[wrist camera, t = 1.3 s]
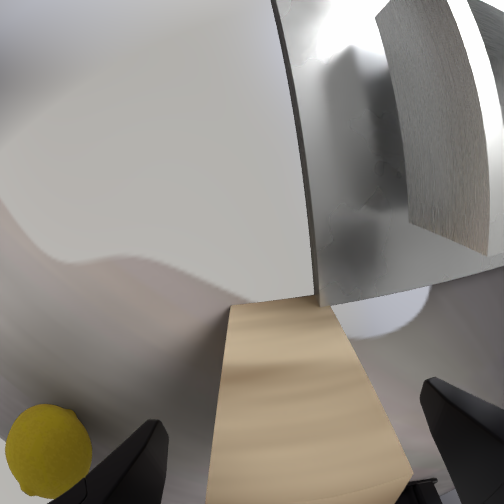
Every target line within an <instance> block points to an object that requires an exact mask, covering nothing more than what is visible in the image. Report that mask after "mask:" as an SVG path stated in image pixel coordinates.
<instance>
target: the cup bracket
mask: <svg viewBox="0 0 504 504" xmlns="http://www.w3.org/2000/svg"><path fill="white" fill-rule="evenodd" d="M271 4H272V8H273V12H274V17H275V21H276V25H277V30H278V34H279V39H280V44H281V49H282V53H283V59H284V63H285V68H286V74H287V79H288V84H289V90H290V96H291V101H292V107H293V113H294V120H295V126H296V132H297V139H298V145H299V153H300V160H301V167H302V174H303V183H304V191H305V198H306V208H307V217H308V226H309V236H310V247H311V258H312V269H313V282H314V295H315V297H316V299H317V301H318V304H319V306H320V307H325V306H331V305H337V304H343V303H348V302H354V301H359V300H364V299H369V298H374V297H379V296H384V295H388V294H393V293H398V292H403V291H407V290H412V289H416V288H420V287H425V286H429V285H433V284H438V283H442V282H446V281H450V280H454V279H457V278H461V277H465V276H469V275H473V274H476V273H480V272H483V271H487V270H490V269H494V268H497V267H501V266H504V0H271Z"/></svg>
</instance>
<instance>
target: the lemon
mask: <svg viewBox="0 0 504 504" xmlns="http://www.w3.org/2000/svg"><path fill="white" fill-rule="evenodd" d="M5 454H6V459H7V462H8V465H9V468H10V470H11V472H12V474H13V475H14V477H15V478H16V480H17V481H18V482H19V484H20V487H21V490H22V491H23V492H25V493H26V494H27V495H29V496H39V497H43V498H47V499H48V498H49V499H56V498H57V497H59V496H60V495H62V494H63V493H65V492H66V491H67V490H69V489H70V488H71V487H73V486H74V485H75V484H76V483H78V482H79V481H80V480H81V479H82V478H84V477H85V476H86V475H87V474H88V472H89V469H90V466H91V461H92V445H91V441H90V438H89V435H88V433H87V431H86V429H85V427H84V426H83V424H82V423H81V422H80V421H79V420H78V419H77V416H76V414H75V412H74V411H73V410H71V409H64V408H61V407H59V406H56V405H51V404H39V405H36V406H33V407H30V408H28V409H27V410H25V411H24V412H23V413H21V414H20V415H19V417H18V418H17V419H16V420H15V422H14V424H13V425H12V427H11V429H10V432H9V434H8V437H7V441H6V447H5Z"/></svg>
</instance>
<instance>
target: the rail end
mask: <svg viewBox="0 0 504 504" xmlns="http://www.w3.org/2000/svg"><path fill="white" fill-rule="evenodd" d="M412 475H413V471H412V469H411V466H410V464H409V462H408V460H407V458H406V455H405V453H404V451H403V449H402V447H401V444H400V442H399V440H398V438H397V436H396V434H395V432H394V429H393V427H392V425H391V423H390V421H389V419H388V417H387V415H386V413H385V411H384V409H383V407H382V405H381V403H380V401H379V398H378V396H377V394H376V392H375V390H374V388H373V386H372V384H371V382H370V380H369V379H368V377H367V375H366V373H365V371H364V369H363V367H362V365H361V363H360V361H359V359H358V357H357V355H356V353H355V351H354V349H353V348H352V346H351V344H350V342H349V340H348V338H347V336H346V334H345V332H344V331H343V329H342V327H341V325H340V323H339V321H338V320H337V318H336V316H335V314H334V312H333V310H332V309H331V307H330V306H325V307H320V306H319V304H318V301H317V299H316V297H315V295H310V296H303V297H296V298H288V299H282V300H273V301H266V302H257V303H249V304H240V305H231V308H230V315H229V322H228V329H227V336H226V343H225V351H224V358H223V365H222V373H221V380H220V388H219V395H218V403H217V411H216V419H215V426H214V434H213V442H212V450H211V459H210V467H209V475H208V484H207V492H206V501H205V504H395V502H396V501H397V499H398V498H399V496H400V495H401V493H402V491H403V490H404V488H405V487H406V485H407V483H408V482H409V480H410V479H411V477H412Z"/></svg>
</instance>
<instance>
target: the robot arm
mask: <svg viewBox="0 0 504 504" xmlns="http://www.w3.org/2000/svg"><path fill="white" fill-rule="evenodd" d="M420 403H421V406H422V409H423V411H424V414H425V417H426V420H427V423H428V426H429V429H430V432H431V434H432V437H433V439H434V441H435V443H436V445H437V448H438V450H439V452H440V454H441V456H442V458H443V461H444V463H445V465H446V467H447V470H448V472H449V474H450V477H451V479H452V481H453V484H454V486H455V489H456V491H457V493H458V496H459V498H460V501H461V503H462V504H504V410H503V409H501V408H499V407H497V406H495V405H493V404H491V403H488V402H486V401H484V400H482V399H480V398H478V397H476V396H474V395H472V394H469V393H467V392H465V391H463V390H461V389H459V388H457V387H455V386H453V385H451V384H449V383H447V382H445V381H443V380H441V379H439V378H436V377H432V378H429V379H427V380H425V381H424V383H423V387H422V390H421V394H420ZM168 442H169V437H168V434H167V432H166V430H165V428H164V426H163V424H162V422H161V421H160V420H156V419H149V420H147V421H146V422H145V423H144V424H143V425H142V426H140V427H139V428H138V429H137V430H136V431H135V432H134V433H133V434H132V435H131V436H130V437H129V438H128V439H126V440H125V441H124V442H123V443H122V444H121V445H120V446H119V447H118V448H117V449H115V450H114V451H113V452H112V453H111V454H110V455H109V456H108V457H107V458H105V459H104V460H103V461H102V462H101V463H100V464H99V465H97V466H96V467H95V468H94V469H93V470H92V471H91V472H89V473H88V474H87V475H86V476H85V477H84V478H82V479H81V480H80V481H79V482H78V483H76V484H75V485H74V486H73V487H71V488H70V489H69V490H67V491H66V492H65V493H63V494H62V495H60V496H59V497H57V498H56V499H54V500H52V501H51V502H49V503H47V504H161V499H162V494H163V489H164V484H165V478H166V470H167V455H168ZM437 482H438V480H437V478H434V479H429V480H423V481H417V482H410V483H407V485H406V487H405V488H404V490H403V491H402V493H401V495H400V496H399V498H398V499H397V501H396V502H395V504H442V502H441V499H440V497H439V495H438V493H437V490H436V488H435V486H434V484H435V483H437Z"/></svg>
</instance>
